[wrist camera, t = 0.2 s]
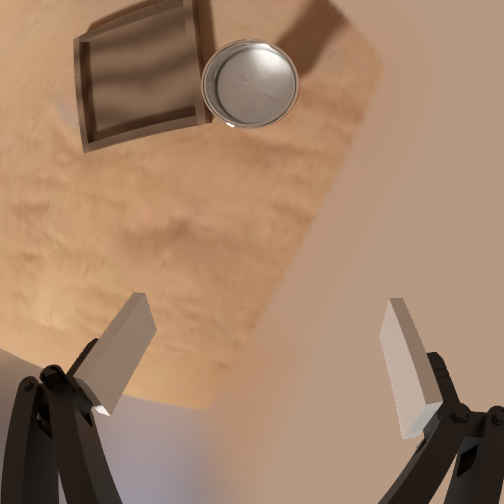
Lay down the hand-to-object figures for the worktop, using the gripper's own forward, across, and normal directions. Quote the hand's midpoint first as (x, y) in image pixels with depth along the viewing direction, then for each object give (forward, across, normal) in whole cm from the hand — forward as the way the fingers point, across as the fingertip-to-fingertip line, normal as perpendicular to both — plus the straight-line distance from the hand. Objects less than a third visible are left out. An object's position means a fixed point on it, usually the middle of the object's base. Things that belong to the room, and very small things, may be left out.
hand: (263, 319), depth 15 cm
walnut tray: (+28, -20, +19) cm, 39 cm away
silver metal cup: (+23, -1, +13) cm, 27 cm away
